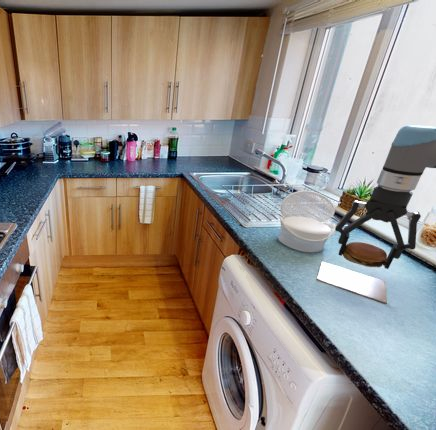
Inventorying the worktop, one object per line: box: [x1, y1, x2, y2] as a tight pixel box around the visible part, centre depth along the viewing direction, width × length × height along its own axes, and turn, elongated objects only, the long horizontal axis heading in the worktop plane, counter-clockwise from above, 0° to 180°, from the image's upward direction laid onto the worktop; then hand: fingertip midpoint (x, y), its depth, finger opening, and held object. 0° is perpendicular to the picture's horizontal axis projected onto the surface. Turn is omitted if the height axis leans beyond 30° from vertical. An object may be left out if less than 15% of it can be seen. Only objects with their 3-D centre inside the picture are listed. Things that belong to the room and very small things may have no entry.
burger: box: [342, 241, 388, 268], centre depth 83 cm, size 10×9×5 cm
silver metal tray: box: [316, 260, 388, 305], centre depth 96 cm, size 18×14×1 cm
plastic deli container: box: [277, 190, 337, 253], centre depth 116 cm, size 20×20×20 cm
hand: (362, 259), depth 84 cm, fingers closed on burger, 10 cm apart
